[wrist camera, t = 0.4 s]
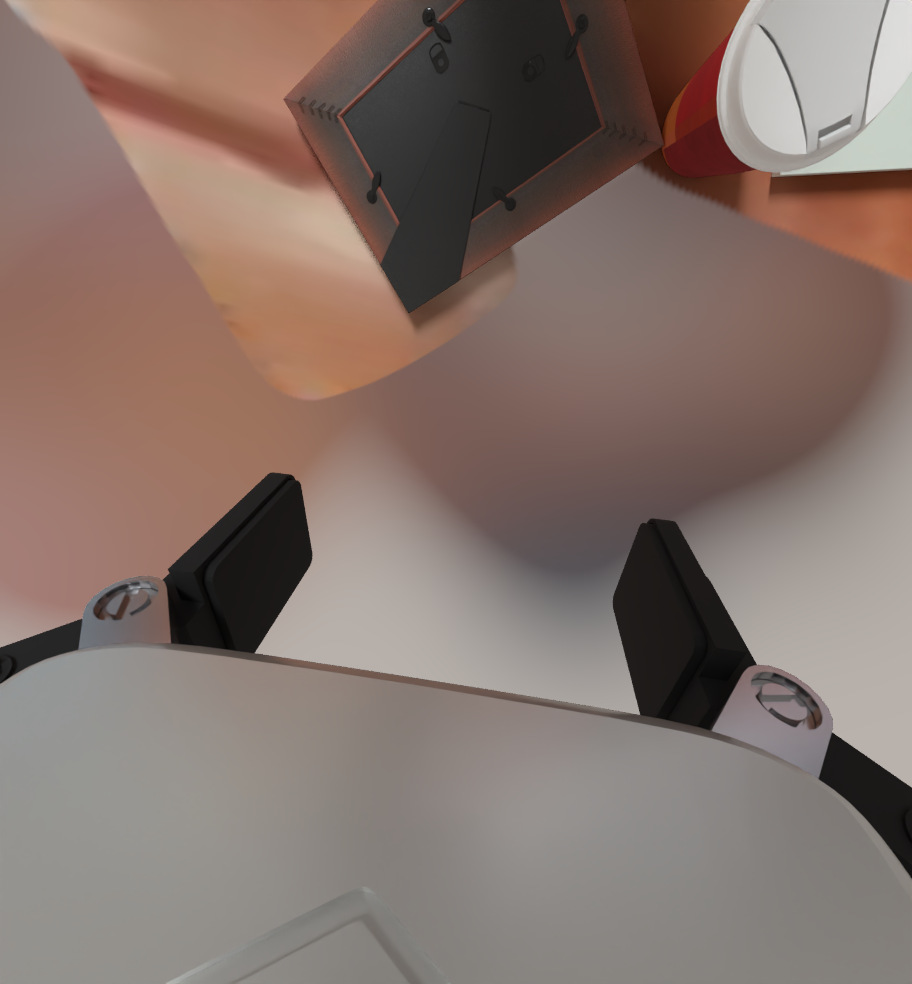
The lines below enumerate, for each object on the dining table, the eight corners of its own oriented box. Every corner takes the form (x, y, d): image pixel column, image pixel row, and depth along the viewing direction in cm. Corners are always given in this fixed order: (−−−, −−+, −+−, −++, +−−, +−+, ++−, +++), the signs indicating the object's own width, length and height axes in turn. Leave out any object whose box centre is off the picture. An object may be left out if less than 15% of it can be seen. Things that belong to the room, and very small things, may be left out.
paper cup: (771, 160, 29) (946, 106, 17) (657, 216, 31) (740, 203, 20) (760, 16, 26) (968, -175, 14) (633, 92, 28) (716, -15, 16)
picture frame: (414, 309, 38) (655, 151, 30) (408, 313, 36) (665, 144, 28) (297, 106, 31) (565, -165, 23) (281, 97, 29) (569, -205, 21)
